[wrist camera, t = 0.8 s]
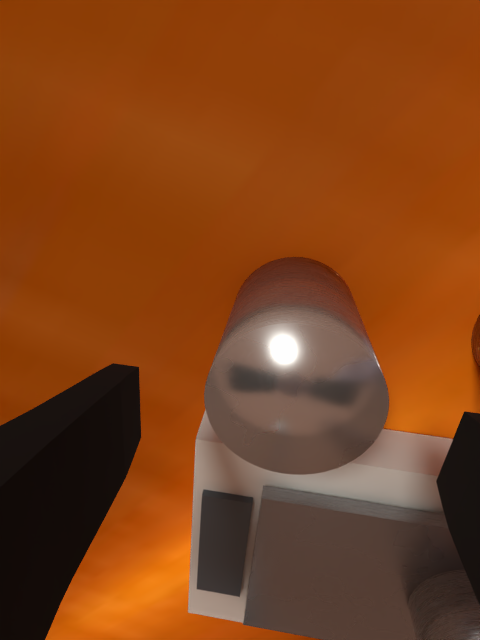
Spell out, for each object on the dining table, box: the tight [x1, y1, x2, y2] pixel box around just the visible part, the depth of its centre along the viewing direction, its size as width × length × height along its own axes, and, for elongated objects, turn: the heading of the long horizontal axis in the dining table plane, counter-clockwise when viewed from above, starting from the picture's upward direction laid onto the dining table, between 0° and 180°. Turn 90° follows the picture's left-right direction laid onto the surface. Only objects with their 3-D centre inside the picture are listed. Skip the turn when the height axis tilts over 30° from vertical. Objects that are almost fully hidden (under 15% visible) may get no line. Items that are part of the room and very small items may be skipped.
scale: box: [188, 410, 453, 623], centre depth 17 cm, size 14×11×2 cm
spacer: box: [204, 257, 389, 475], centre depth 12 cm, size 4×4×6 cm
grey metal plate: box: [243, 485, 465, 640], centre depth 16 cm, size 11×8×1 cm
